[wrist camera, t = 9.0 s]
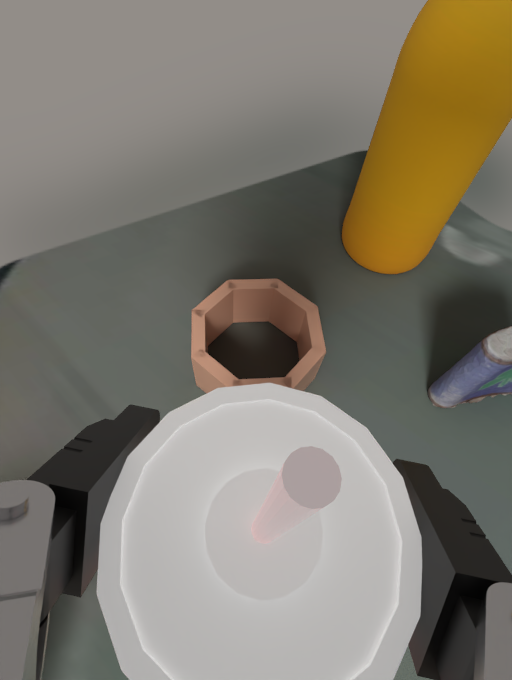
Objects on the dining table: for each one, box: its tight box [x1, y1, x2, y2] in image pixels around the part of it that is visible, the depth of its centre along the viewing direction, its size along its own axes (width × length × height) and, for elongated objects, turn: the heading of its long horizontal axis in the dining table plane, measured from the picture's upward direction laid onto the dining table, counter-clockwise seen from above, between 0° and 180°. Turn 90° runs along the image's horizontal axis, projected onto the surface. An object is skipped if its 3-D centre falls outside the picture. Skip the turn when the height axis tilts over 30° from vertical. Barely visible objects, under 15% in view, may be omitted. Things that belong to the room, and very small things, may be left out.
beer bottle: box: [342, 0, 512, 274], centre depth 30 cm, size 9×9×29 cm
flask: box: [428, 326, 512, 408], centre depth 29 cm, size 9×3×11 cm, turn 103°
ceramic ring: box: [191, 279, 326, 393], centre depth 32 cm, size 10×10×5 cm
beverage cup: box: [97, 383, 422, 680], centre depth 9 cm, size 6×6×14 cm
